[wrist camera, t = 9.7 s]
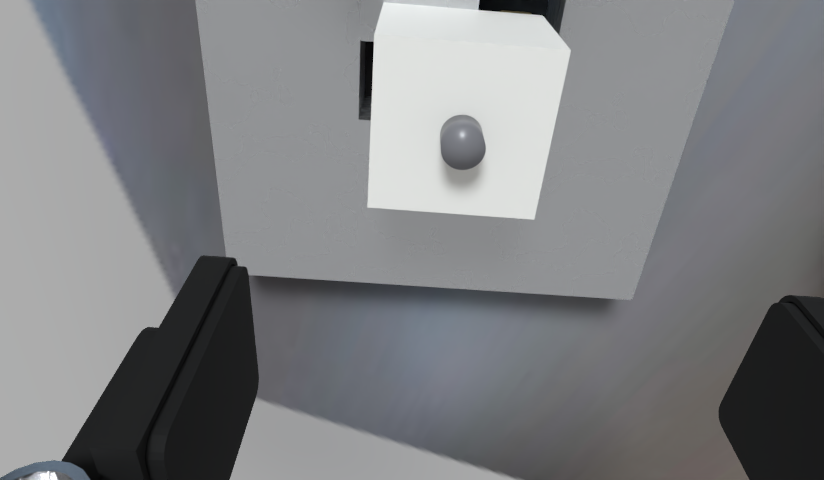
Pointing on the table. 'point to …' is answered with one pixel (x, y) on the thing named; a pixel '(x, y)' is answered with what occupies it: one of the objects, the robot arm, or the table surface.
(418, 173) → the plug
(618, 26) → the socket
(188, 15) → the table surface
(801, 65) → the table surface
